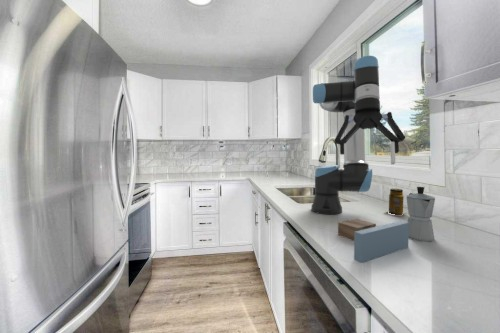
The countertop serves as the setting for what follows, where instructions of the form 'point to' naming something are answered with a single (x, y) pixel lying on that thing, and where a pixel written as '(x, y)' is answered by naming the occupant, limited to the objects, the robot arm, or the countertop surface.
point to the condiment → (396, 202)
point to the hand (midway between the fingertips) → (368, 163)
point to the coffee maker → (420, 216)
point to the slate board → (380, 240)
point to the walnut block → (353, 227)
